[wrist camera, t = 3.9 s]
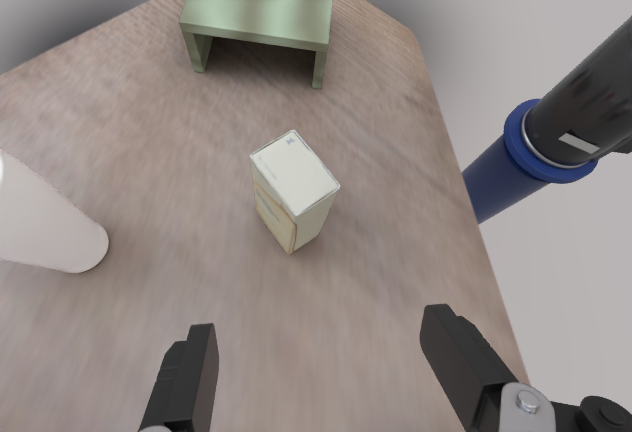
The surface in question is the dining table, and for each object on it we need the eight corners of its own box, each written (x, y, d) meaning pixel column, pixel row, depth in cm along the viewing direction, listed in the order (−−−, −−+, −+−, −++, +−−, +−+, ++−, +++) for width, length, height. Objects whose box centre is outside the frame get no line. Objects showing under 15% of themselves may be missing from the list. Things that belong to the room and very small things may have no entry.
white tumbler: (42, 287, 32) (-150, 246, 17) (47, 220, 34) (-119, 136, 20) (119, 275, 33) (-4, 227, 19) (119, 211, 35) (9, 124, 21)
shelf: (328, 16, 47) (336, -36, 41) (321, 89, 43) (328, 44, 36) (214, -2, 46) (203, -58, 40) (194, 71, 42) (178, 21, 35)
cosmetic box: (255, 211, 36) (244, 153, 25) (289, 190, 37) (292, 125, 26) (289, 257, 35) (294, 218, 23) (323, 234, 36) (342, 185, 25)
